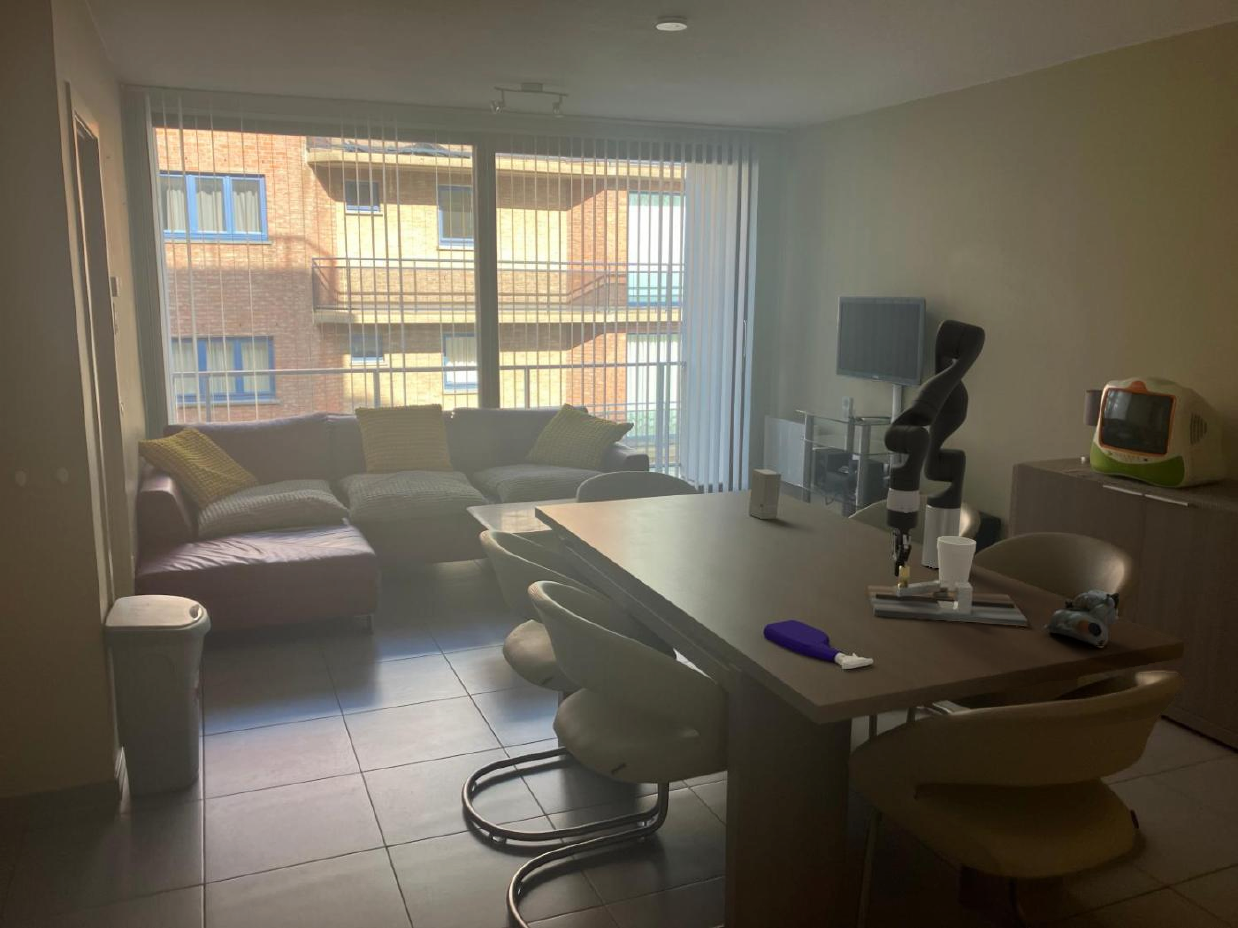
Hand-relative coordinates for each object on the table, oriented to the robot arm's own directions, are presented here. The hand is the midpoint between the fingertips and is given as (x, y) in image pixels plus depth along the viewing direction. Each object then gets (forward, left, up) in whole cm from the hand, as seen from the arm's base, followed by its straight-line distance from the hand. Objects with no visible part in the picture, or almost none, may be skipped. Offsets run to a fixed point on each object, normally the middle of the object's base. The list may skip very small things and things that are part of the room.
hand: (898, 575), depth 243 cm
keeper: (+9, +12, -5) cm, 16 cm away
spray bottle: (+40, -21, -7) cm, 45 cm away
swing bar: (0, +6, -4) cm, 7 cm away
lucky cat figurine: (+19, +37, -7) cm, 42 cm away
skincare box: (-91, -34, -7) cm, 98 cm away
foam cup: (-15, +16, -7) cm, 23 cm away
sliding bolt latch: (+2, +11, -7) cm, 13 cm away
